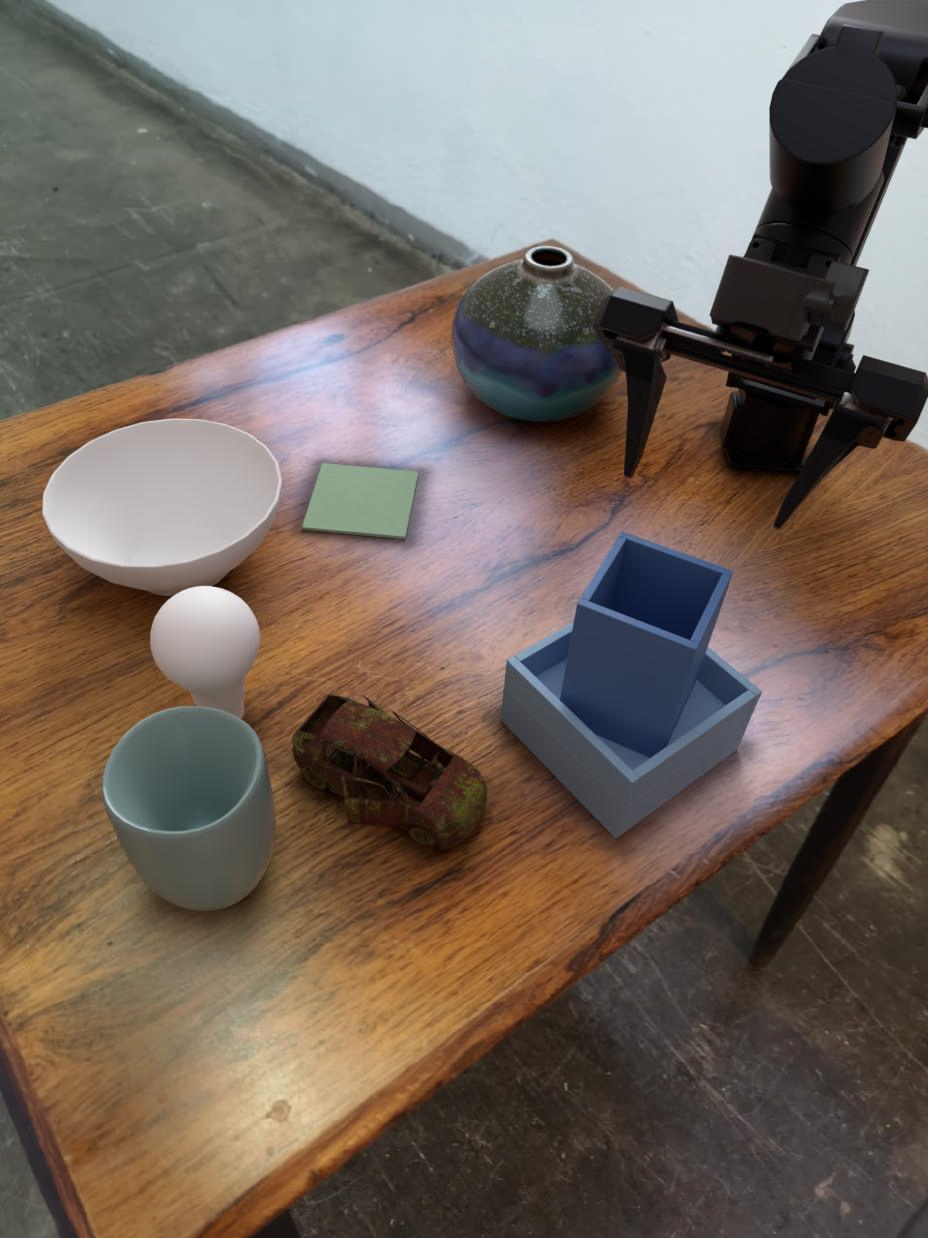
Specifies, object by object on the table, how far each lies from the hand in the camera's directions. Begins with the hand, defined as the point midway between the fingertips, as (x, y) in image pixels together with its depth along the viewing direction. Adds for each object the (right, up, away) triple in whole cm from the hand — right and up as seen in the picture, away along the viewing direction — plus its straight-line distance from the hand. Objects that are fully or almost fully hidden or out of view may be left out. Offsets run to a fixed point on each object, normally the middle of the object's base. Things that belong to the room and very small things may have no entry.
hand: (700, 502), depth 56 cm
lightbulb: (-29, -14, +5) cm, 32 cm away
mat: (-22, +2, +20) cm, 30 cm away
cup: (-28, -21, -2) cm, 35 cm away
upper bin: (-4, -12, +2) cm, 13 cm away
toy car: (-19, -18, +1) cm, 26 cm away
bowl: (-35, -3, +14) cm, 38 cm away
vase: (-8, +13, +30) cm, 34 cm away
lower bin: (-4, -14, +5) cm, 16 cm away
